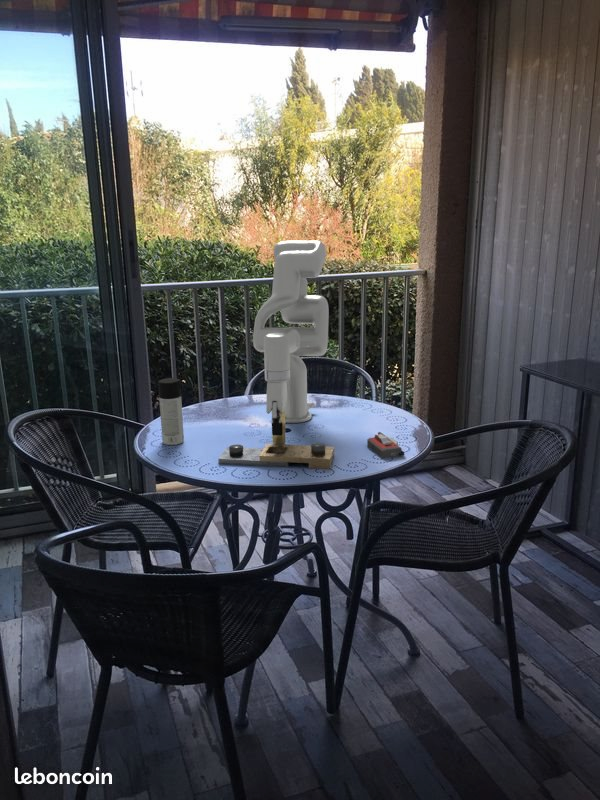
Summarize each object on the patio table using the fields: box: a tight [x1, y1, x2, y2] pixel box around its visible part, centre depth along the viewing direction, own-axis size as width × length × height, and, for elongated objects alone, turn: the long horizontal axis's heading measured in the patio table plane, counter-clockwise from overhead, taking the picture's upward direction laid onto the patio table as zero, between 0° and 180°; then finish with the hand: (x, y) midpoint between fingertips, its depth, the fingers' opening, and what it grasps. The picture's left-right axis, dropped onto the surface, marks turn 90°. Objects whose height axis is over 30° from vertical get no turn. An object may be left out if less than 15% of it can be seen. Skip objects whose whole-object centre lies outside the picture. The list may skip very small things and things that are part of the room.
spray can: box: [157, 377, 185, 446], centre depth 205 cm, size 7×7×20 cm
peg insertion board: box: [218, 442, 335, 470], centre depth 191 cm, size 10×32×5 cm, turn 81°
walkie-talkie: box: [366, 431, 405, 459], centre depth 201 cm, size 9×4×20 cm
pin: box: [271, 410, 287, 445], centre depth 203 cm, size 4×4×12 cm
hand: (278, 431), depth 204 cm, fingers closed on pin, 4 cm apart
